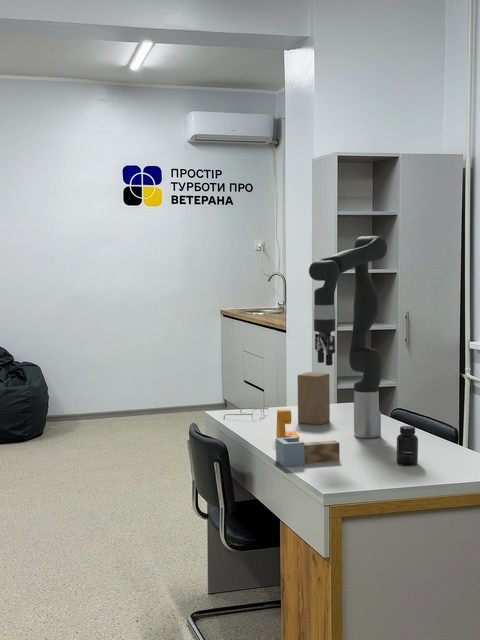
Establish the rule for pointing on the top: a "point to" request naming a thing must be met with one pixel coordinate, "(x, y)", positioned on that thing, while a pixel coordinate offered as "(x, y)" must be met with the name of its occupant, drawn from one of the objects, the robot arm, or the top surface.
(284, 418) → the bracket
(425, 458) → the top surface
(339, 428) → the top surface
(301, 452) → the grey u-channel
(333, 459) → the rail
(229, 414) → the eyeglasses
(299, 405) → the wooden block
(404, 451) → the supplement bottle
